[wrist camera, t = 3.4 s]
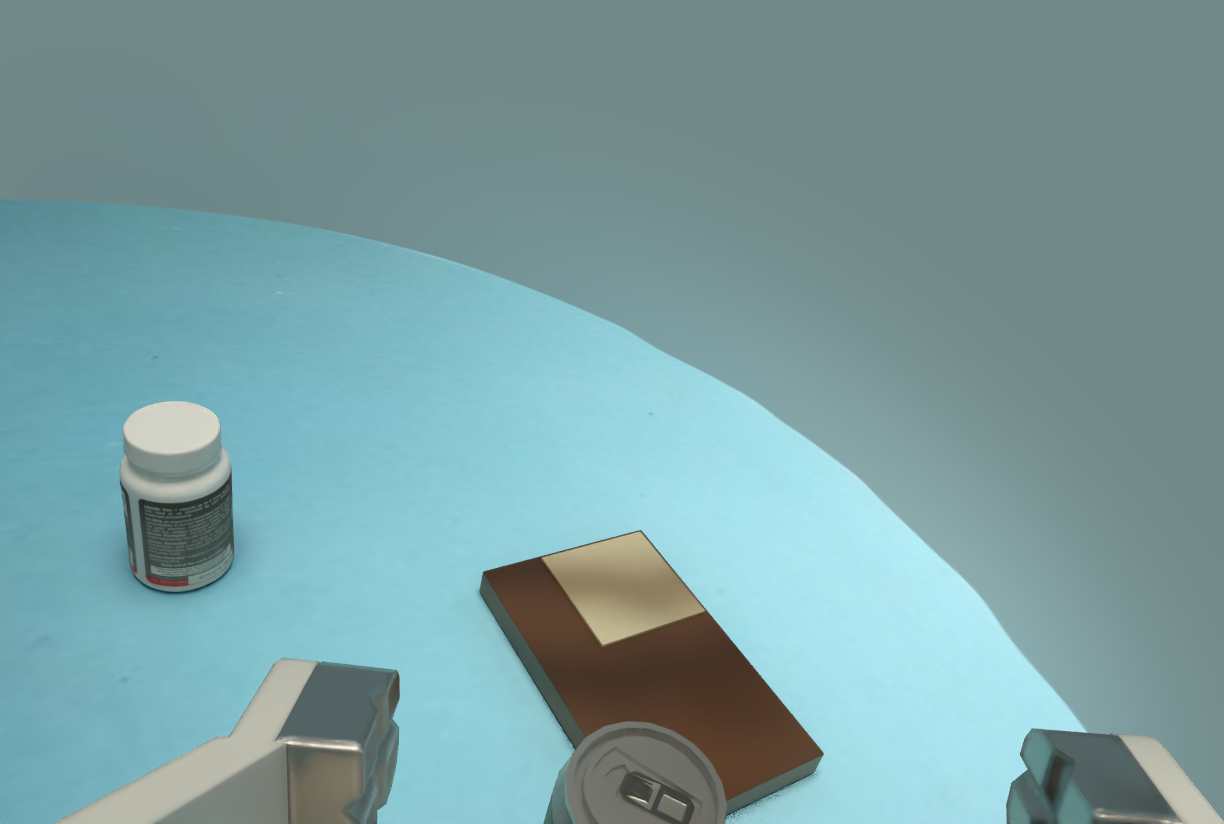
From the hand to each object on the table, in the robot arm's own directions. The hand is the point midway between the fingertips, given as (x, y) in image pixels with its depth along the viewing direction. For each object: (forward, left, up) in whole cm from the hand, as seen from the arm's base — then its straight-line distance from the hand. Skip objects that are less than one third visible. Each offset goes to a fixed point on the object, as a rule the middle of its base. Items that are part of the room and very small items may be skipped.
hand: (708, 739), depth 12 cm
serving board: (-17, +17, -26) cm, 36 cm away
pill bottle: (-32, -1, -27) cm, 42 cm away
